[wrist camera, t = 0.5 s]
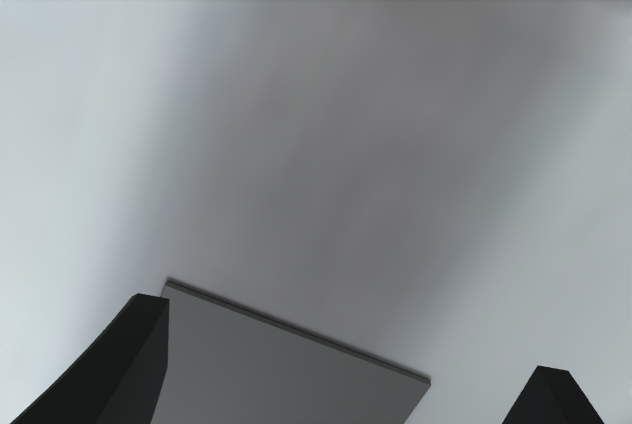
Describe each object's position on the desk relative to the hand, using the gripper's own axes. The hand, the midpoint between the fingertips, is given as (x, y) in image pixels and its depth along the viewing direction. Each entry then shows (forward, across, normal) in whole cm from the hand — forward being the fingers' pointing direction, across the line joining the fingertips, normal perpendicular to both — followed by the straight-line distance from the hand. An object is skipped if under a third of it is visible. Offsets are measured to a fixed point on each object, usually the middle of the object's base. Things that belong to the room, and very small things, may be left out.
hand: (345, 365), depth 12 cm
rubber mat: (+9, +1, +15) cm, 17 cm away
